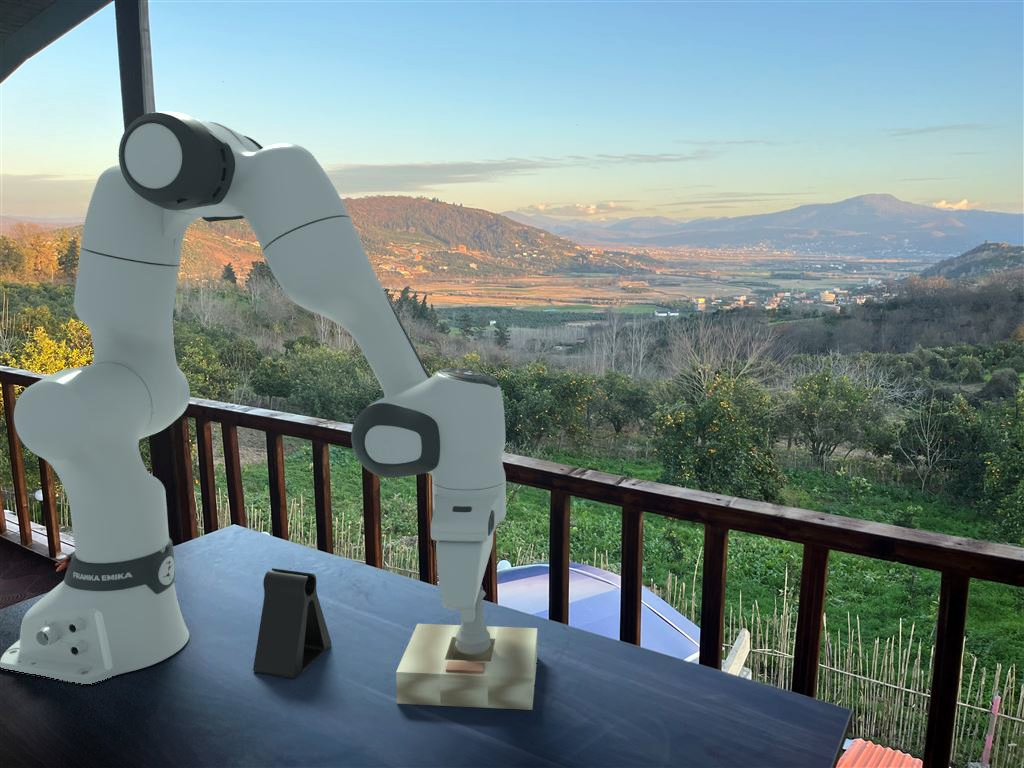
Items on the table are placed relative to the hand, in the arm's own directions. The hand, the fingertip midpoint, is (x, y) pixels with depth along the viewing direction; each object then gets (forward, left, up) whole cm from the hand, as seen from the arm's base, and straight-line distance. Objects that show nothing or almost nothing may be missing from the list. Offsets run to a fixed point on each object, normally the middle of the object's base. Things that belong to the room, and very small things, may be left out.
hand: (470, 611), depth 90 cm
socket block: (0, 0, -9) cm, 9 cm away
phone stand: (-24, +3, -9) cm, 26 cm away
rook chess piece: (0, 0, -5) cm, 5 cm away
